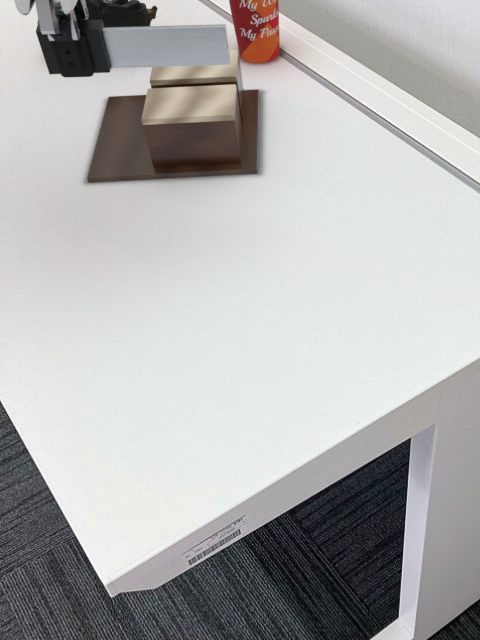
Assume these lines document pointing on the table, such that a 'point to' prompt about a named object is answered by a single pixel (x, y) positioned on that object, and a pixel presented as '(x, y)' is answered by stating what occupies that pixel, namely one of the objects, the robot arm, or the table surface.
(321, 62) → the table surface
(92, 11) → the film camera
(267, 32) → the coffee cup
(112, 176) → the blocks on base plate
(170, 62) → the knife
